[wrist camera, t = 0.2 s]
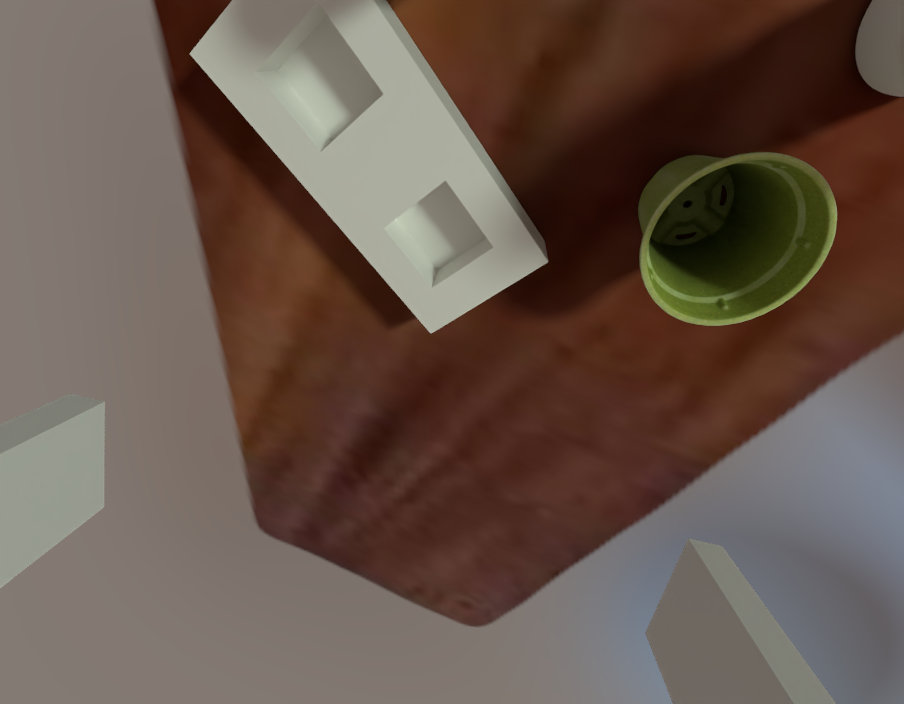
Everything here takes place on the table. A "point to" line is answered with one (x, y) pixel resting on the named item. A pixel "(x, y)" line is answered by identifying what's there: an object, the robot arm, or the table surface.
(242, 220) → the table surface
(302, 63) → the hole block
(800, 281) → the plant pot
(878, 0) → the water bottle
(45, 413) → the robot arm
